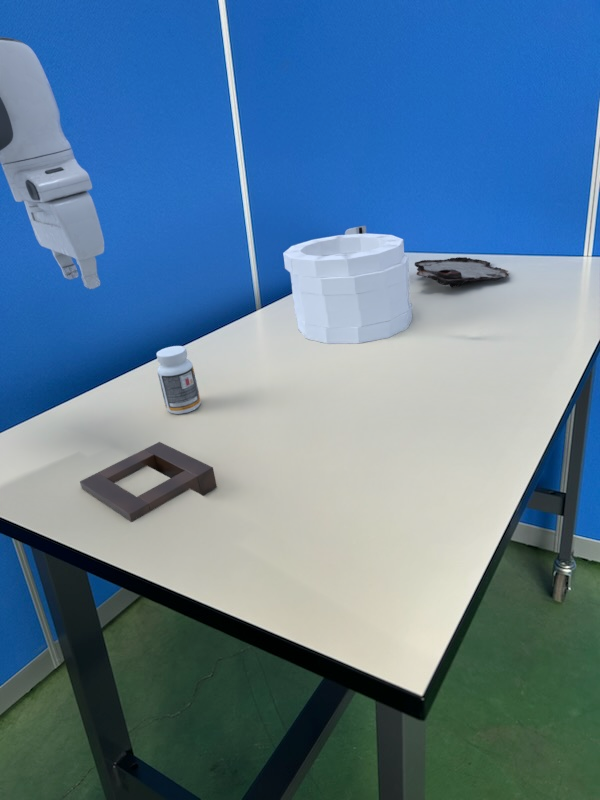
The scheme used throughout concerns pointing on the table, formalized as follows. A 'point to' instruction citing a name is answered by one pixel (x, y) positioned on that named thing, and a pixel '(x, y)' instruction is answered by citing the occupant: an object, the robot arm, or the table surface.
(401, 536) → the table surface
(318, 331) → the container
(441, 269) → the scrap metal
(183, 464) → the frame
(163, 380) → the pill bottle
